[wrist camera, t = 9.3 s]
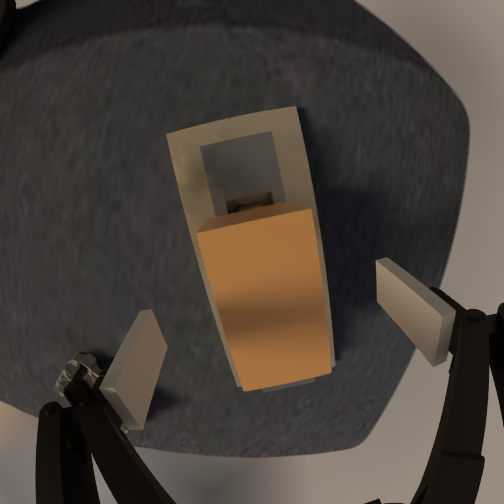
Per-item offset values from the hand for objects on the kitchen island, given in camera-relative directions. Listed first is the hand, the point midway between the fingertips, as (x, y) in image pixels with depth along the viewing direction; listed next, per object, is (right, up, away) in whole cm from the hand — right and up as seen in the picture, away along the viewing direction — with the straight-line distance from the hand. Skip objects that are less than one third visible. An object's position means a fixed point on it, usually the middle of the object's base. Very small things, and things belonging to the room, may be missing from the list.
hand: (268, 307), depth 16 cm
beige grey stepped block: (0, +2, +8) cm, 9 cm away
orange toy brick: (0, +1, +7) cm, 7 cm away
